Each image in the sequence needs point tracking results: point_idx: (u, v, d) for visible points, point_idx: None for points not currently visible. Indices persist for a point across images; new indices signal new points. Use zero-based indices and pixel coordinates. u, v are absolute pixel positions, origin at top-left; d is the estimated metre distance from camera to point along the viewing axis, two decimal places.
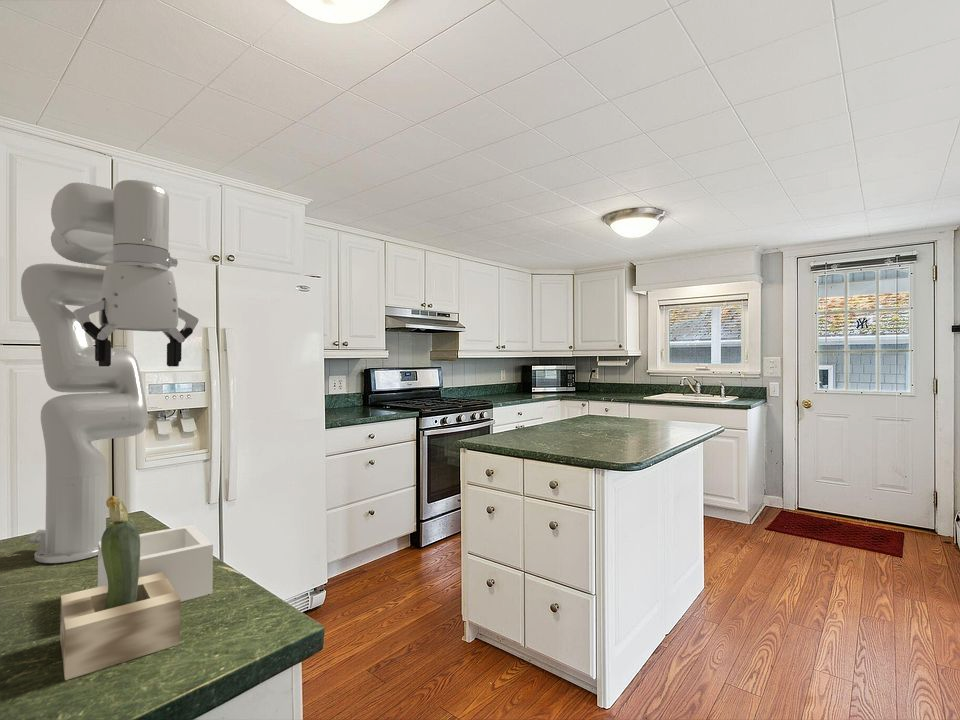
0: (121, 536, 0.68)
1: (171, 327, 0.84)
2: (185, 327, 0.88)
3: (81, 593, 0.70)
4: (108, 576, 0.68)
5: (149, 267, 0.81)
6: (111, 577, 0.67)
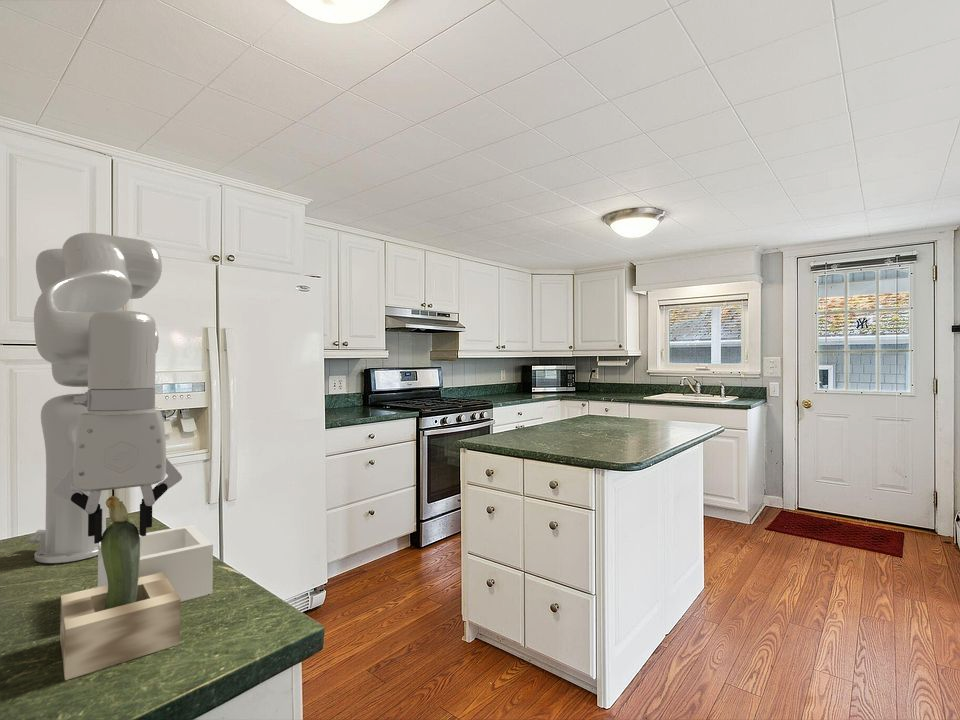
0: (121, 536, 0.68)
1: None
2: (77, 491, 0.67)
3: (81, 593, 0.70)
4: (108, 576, 0.68)
5: None
6: (111, 577, 0.67)
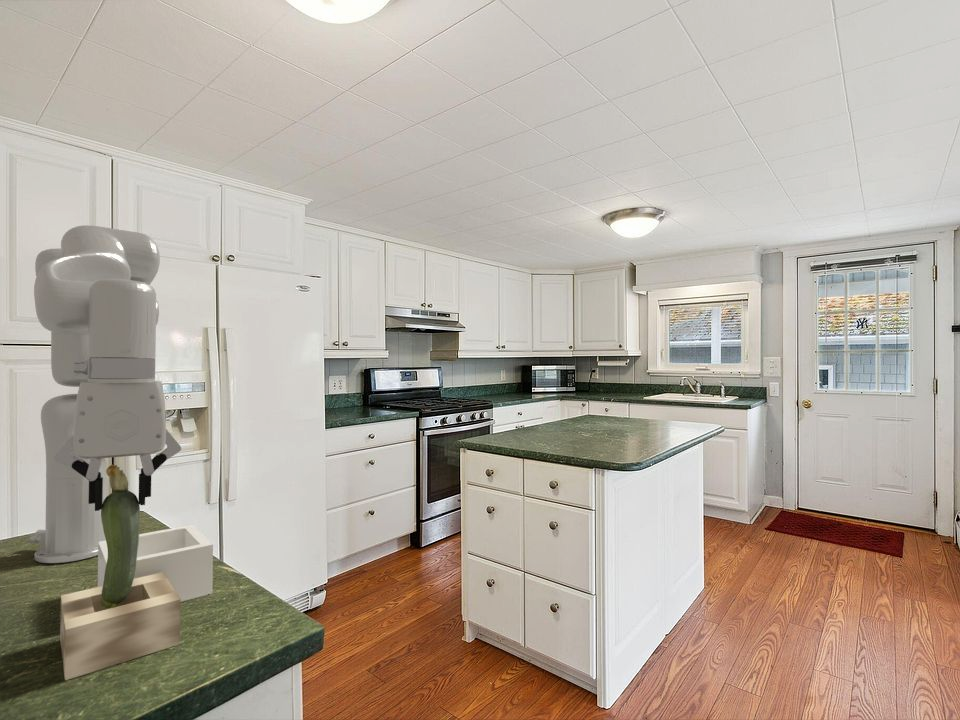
0: (121, 504, 0.68)
1: None
2: (78, 458, 0.67)
3: (81, 593, 0.70)
4: (108, 544, 0.68)
5: None
6: (111, 545, 0.68)
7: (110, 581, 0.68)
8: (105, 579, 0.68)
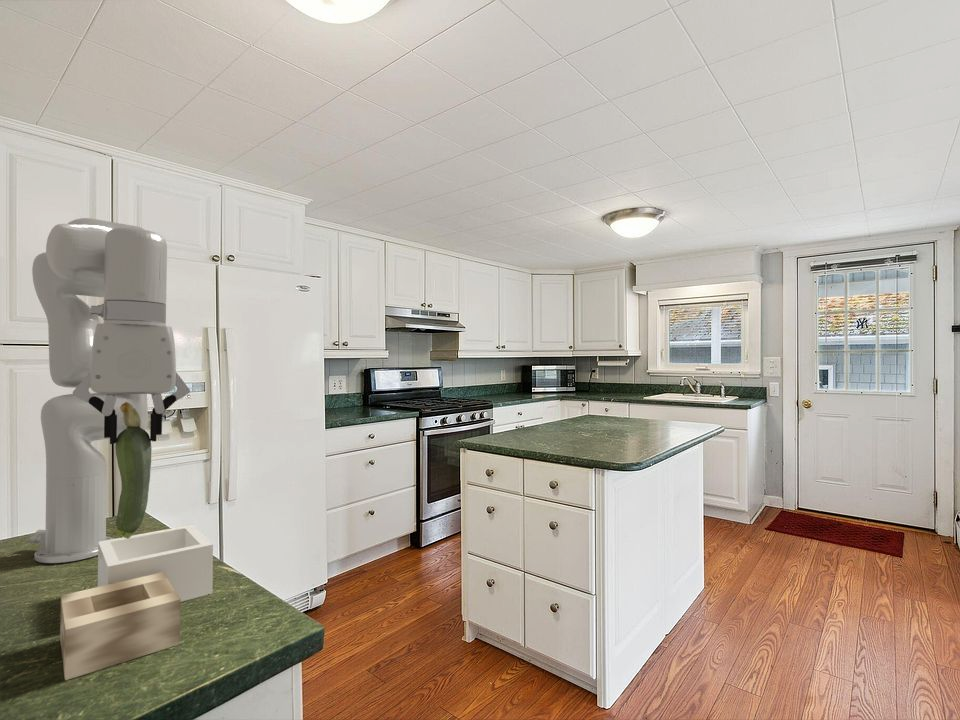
0: (134, 439, 0.73)
1: None
2: (94, 395, 0.72)
3: (81, 593, 0.70)
4: (122, 476, 0.73)
5: None
6: (124, 476, 0.73)
7: (124, 510, 0.73)
8: (119, 509, 0.73)
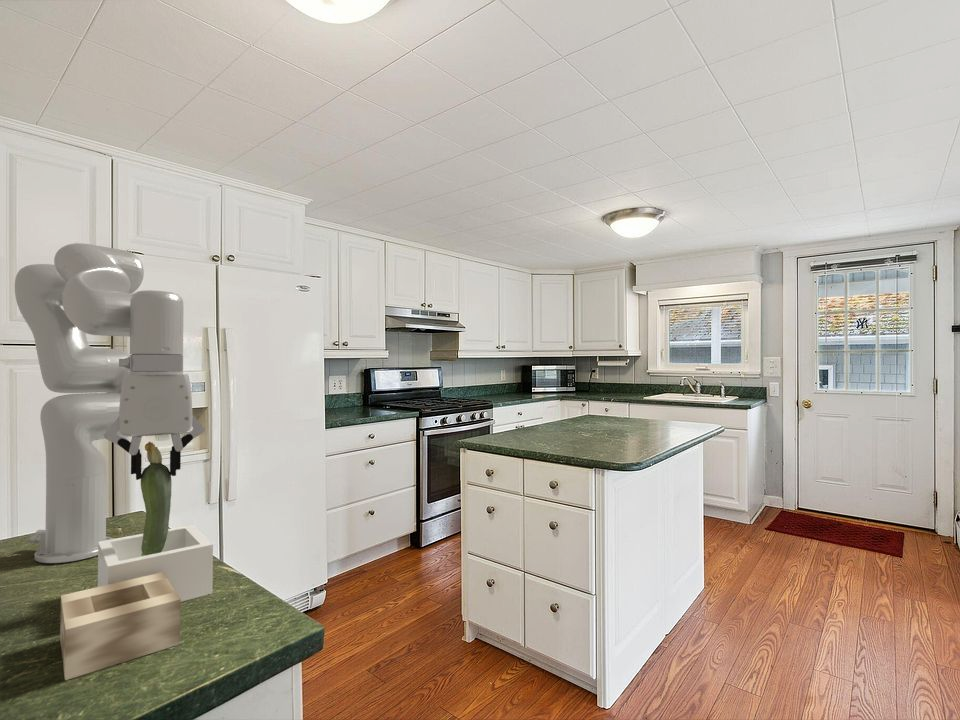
0: (157, 474, 0.83)
1: None
2: (122, 437, 0.82)
3: (81, 593, 0.70)
4: (146, 507, 0.83)
5: None
6: (149, 507, 0.83)
7: (148, 537, 0.83)
8: (144, 536, 0.83)
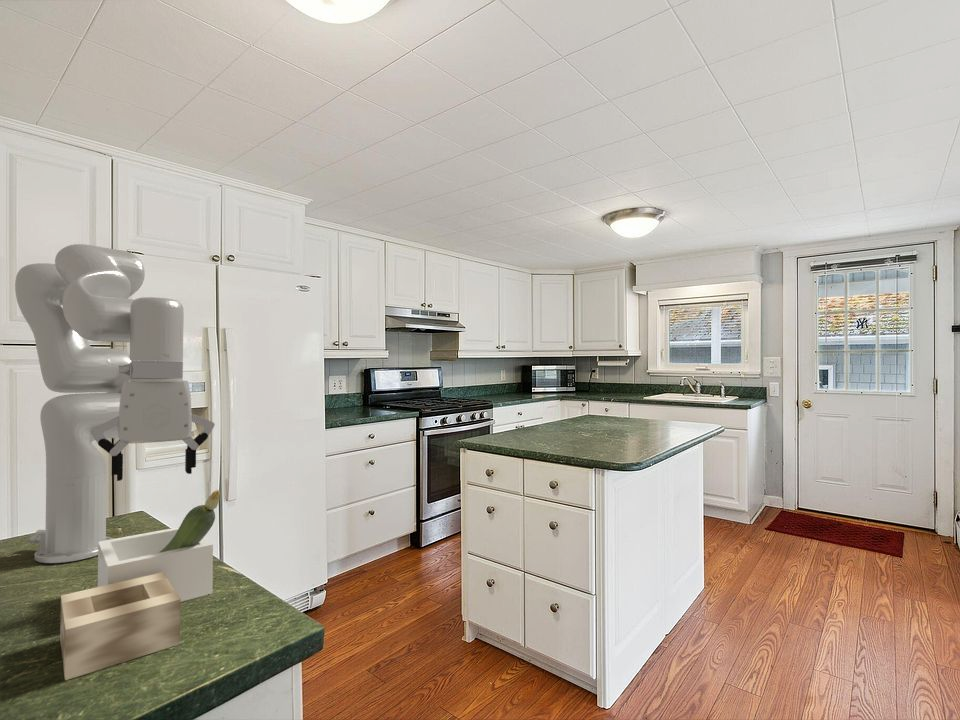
0: (206, 523, 0.82)
1: None
2: (105, 438, 0.81)
3: (81, 593, 0.70)
4: (176, 542, 0.82)
5: None
6: (178, 545, 0.82)
7: None
8: None
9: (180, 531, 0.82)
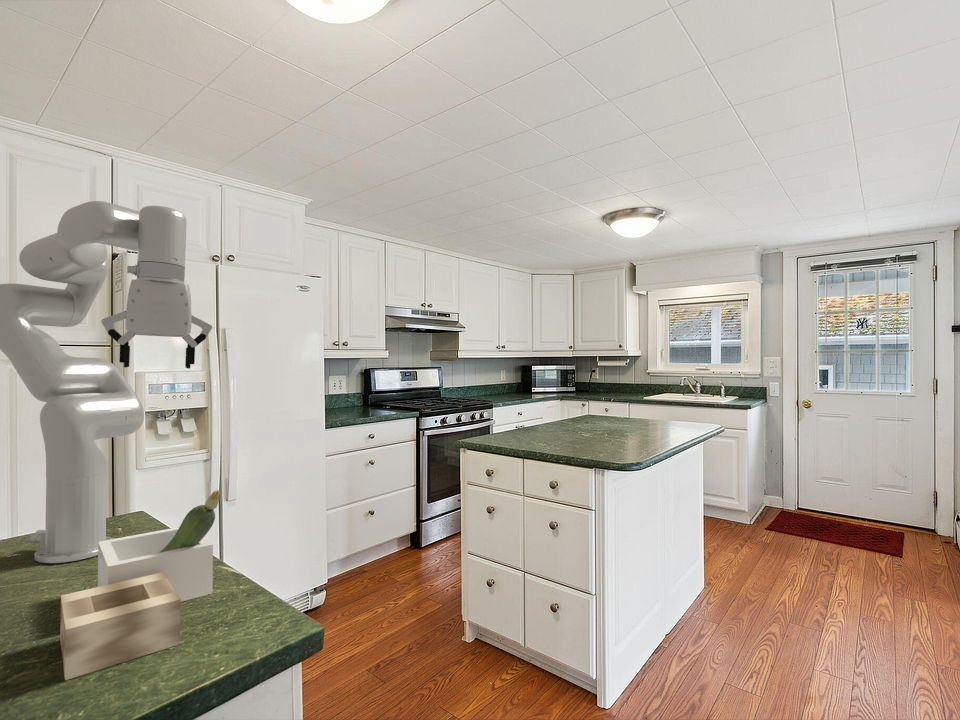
0: (206, 523, 0.82)
1: None
2: None
3: (81, 593, 0.70)
4: (176, 542, 0.82)
5: None
6: (178, 545, 0.82)
7: None
8: None
9: (180, 531, 0.82)
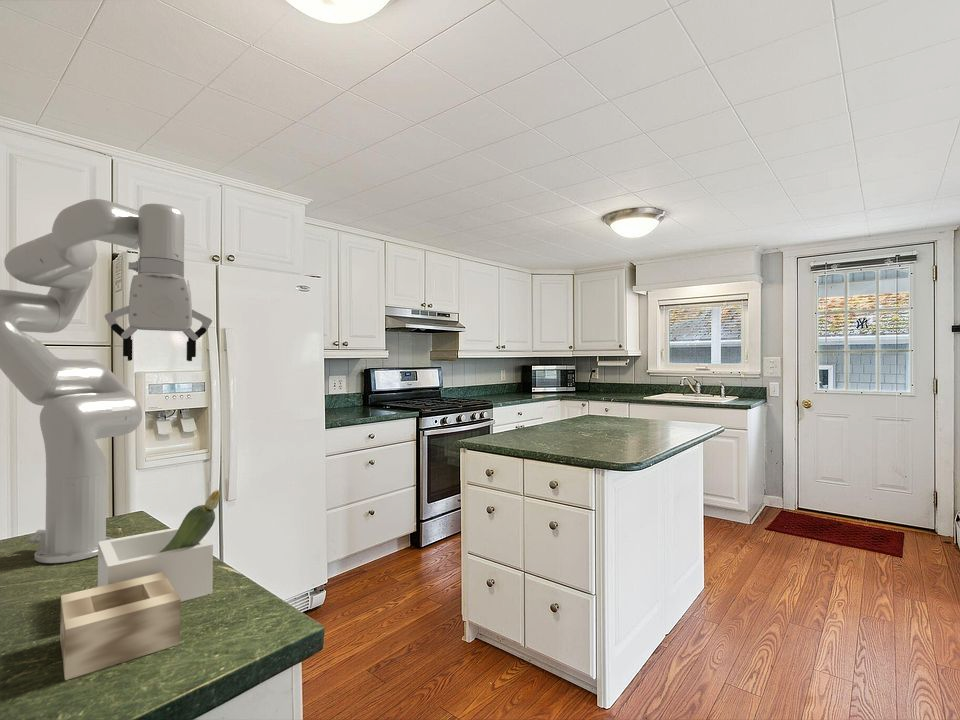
0: (206, 523, 0.82)
1: None
2: (117, 324, 0.94)
3: (81, 593, 0.70)
4: (176, 542, 0.82)
5: None
6: (178, 545, 0.82)
7: None
8: None
9: (180, 531, 0.82)
